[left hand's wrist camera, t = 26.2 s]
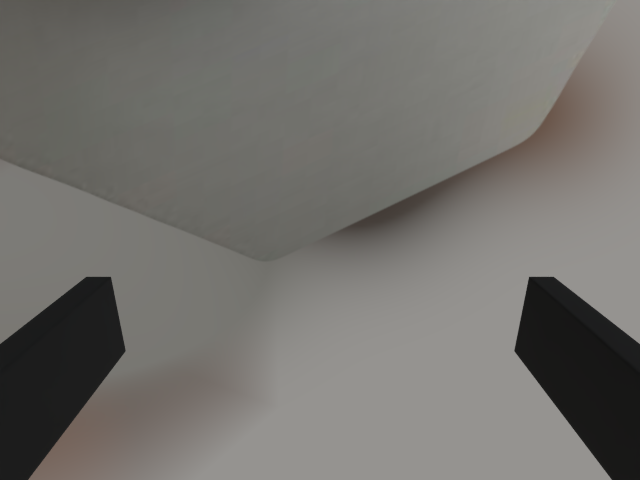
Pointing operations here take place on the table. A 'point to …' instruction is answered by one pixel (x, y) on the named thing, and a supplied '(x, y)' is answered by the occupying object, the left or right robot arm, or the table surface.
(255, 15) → the table surface
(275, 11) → the table surface
